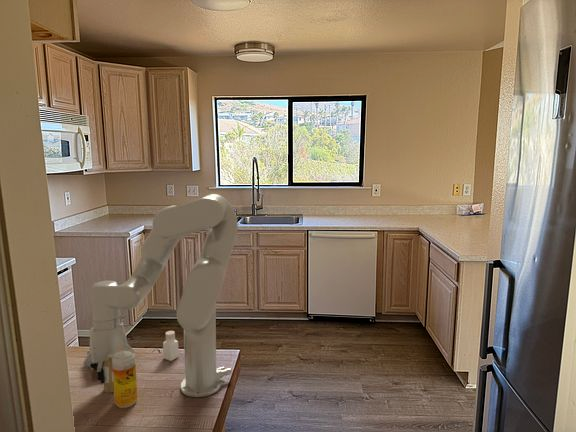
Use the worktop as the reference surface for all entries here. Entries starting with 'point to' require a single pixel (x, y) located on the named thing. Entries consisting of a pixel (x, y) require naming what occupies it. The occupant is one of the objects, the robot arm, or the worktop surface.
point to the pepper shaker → (170, 346)
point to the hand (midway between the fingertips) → (110, 378)
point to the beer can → (124, 378)
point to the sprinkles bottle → (108, 375)
